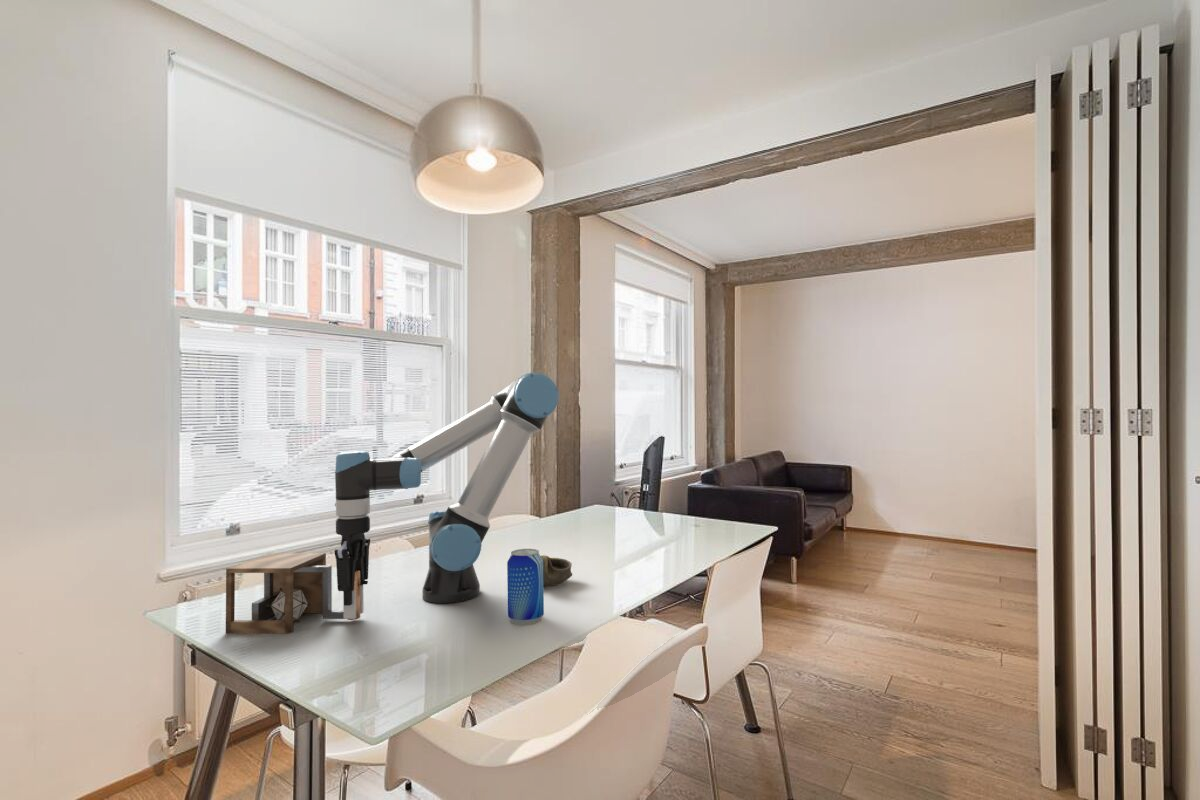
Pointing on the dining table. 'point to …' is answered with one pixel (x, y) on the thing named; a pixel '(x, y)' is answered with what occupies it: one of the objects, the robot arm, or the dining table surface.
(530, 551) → the beer can
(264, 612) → the pull yoke
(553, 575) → the brown rounded hollow piece
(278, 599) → the game die
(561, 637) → the dining table surface
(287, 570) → the shelf lane
